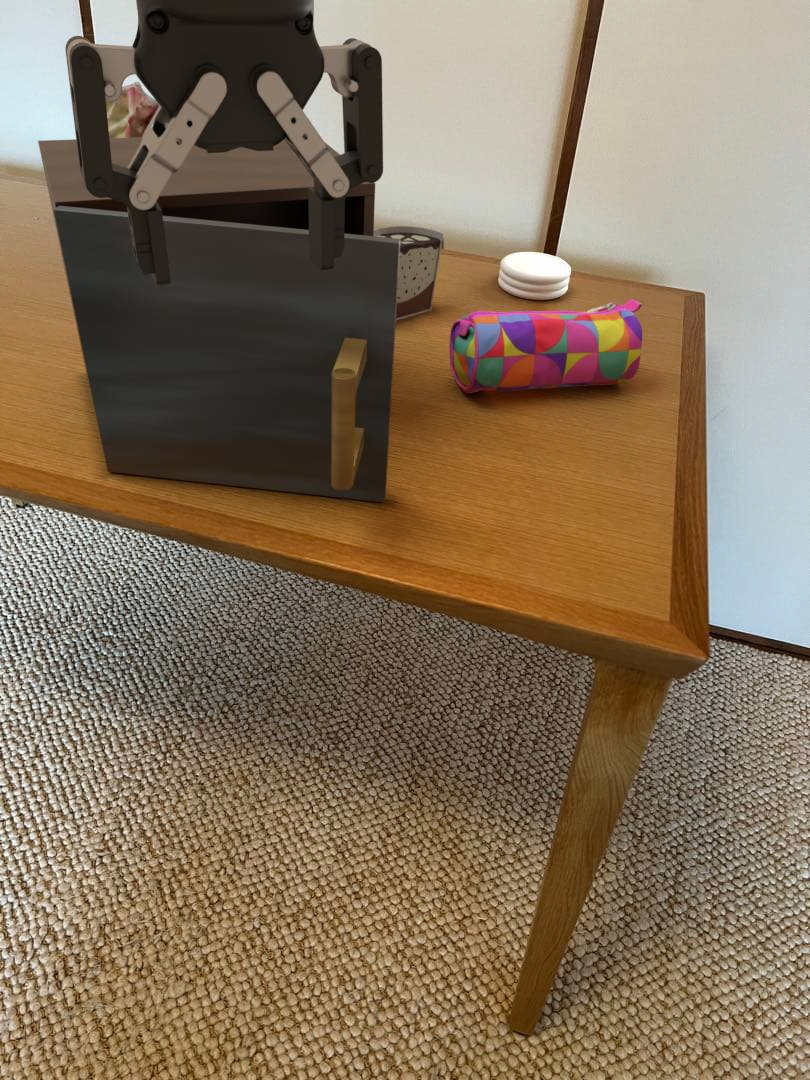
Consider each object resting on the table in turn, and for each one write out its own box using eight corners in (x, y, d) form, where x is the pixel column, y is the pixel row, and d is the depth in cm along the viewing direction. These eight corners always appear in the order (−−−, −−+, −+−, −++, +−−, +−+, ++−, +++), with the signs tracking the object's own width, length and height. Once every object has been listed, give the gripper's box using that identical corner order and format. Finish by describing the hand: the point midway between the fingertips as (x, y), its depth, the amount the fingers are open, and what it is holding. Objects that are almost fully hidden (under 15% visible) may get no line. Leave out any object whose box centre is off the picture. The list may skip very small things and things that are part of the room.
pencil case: (602, 355, 101) (619, 285, 95) (642, 392, 94) (662, 318, 88) (438, 372, 95) (446, 298, 89) (468, 412, 88) (477, 335, 82)
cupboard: (366, 423, 85) (375, 183, 70) (108, 465, 76) (54, 202, 61) (314, 348, 98) (311, 131, 83) (87, 377, 89) (37, 140, 74)
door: (374, 550, 69) (387, 278, 54) (76, 516, 70) (8, 240, 55) (385, 496, 75) (400, 238, 60) (111, 465, 76) (58, 205, 61)
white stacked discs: (533, 307, 111) (537, 282, 109) (483, 282, 117) (486, 258, 115) (581, 292, 117) (586, 268, 114) (531, 269, 122) (535, 246, 120)
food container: (410, 292, 113) (415, 218, 106) (439, 308, 109) (446, 232, 103) (338, 311, 106) (338, 234, 100) (366, 329, 103) (369, 250, 96)
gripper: (31, -141, 27) (112, 316, 38) (419, -112, 32) (396, 286, 42) (19, -144, 33) (93, 258, 43) (354, -119, 37) (348, 237, 48)
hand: (244, 271), depth 43 cm, fingers open, 8 cm apart
